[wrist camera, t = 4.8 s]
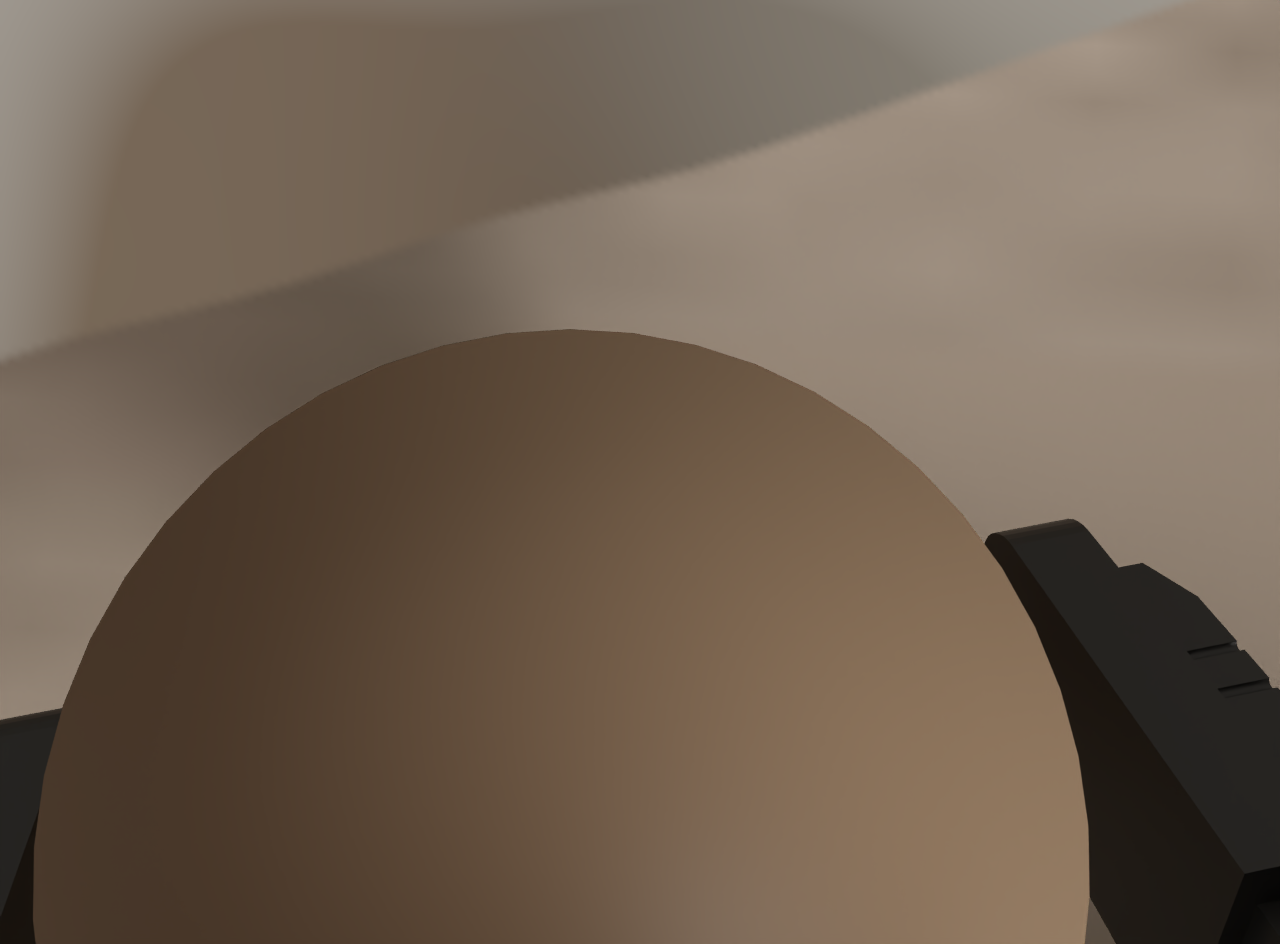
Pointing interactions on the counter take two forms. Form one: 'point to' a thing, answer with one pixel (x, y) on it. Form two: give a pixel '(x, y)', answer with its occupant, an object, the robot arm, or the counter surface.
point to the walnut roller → (564, 680)
